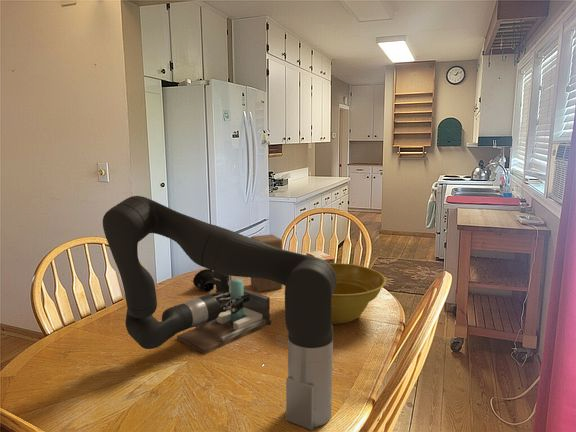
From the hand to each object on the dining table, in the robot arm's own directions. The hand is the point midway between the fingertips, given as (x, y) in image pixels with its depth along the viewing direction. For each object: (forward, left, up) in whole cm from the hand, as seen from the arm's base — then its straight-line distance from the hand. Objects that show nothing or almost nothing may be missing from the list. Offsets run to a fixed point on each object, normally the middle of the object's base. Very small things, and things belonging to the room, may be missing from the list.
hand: (243, 295), depth 134 cm
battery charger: (+11, +19, -10) cm, 24 cm away
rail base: (-7, +1, -9) cm, 12 cm away
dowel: (-3, 0, -7) cm, 8 cm away
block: (+32, +14, -10) cm, 36 cm away
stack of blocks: (+49, +1, -10) cm, 50 cm away
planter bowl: (+21, -21, -10) cm, 32 cm away
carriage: (-2, 0, -8) cm, 8 cm away
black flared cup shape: (+20, +35, -10) cm, 41 cm away
